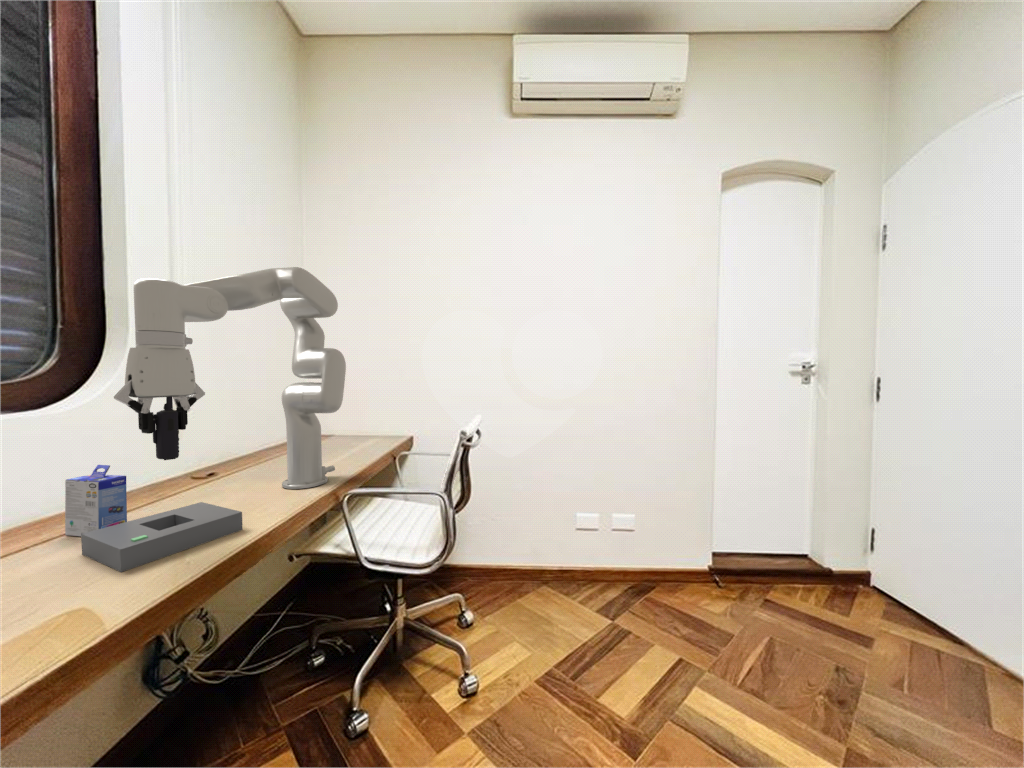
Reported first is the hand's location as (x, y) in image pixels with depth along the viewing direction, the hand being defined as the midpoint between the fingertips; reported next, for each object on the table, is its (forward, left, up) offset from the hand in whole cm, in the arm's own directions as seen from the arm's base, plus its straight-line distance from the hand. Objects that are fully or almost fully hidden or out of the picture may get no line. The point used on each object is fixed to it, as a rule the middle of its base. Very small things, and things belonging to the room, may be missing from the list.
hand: (164, 430), depth 79 cm
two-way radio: (0, 0, -6) cm, 6 cm away
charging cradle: (0, 0, -23) cm, 23 cm away
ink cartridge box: (+4, -20, -23) cm, 31 cm away
